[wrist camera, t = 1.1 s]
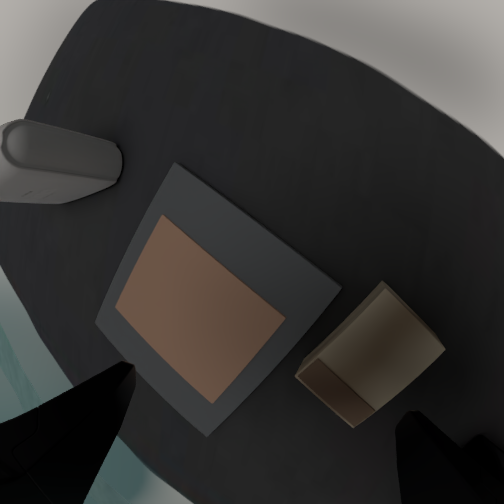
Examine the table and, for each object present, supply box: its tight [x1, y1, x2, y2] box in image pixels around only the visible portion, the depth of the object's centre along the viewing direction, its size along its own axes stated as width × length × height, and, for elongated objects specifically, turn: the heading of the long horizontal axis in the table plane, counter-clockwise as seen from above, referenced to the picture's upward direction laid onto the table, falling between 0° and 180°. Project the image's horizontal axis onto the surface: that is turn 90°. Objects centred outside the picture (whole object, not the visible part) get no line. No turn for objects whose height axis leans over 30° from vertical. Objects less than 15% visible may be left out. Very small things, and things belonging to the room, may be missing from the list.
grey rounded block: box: [0, 119, 122, 204], centre depth 19 cm, size 10×4×12 cm, turn 97°
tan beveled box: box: [295, 280, 446, 428], centre depth 16 cm, size 5×7×3 cm
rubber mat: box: [95, 162, 343, 437], centre depth 21 cm, size 14×16×1 cm
